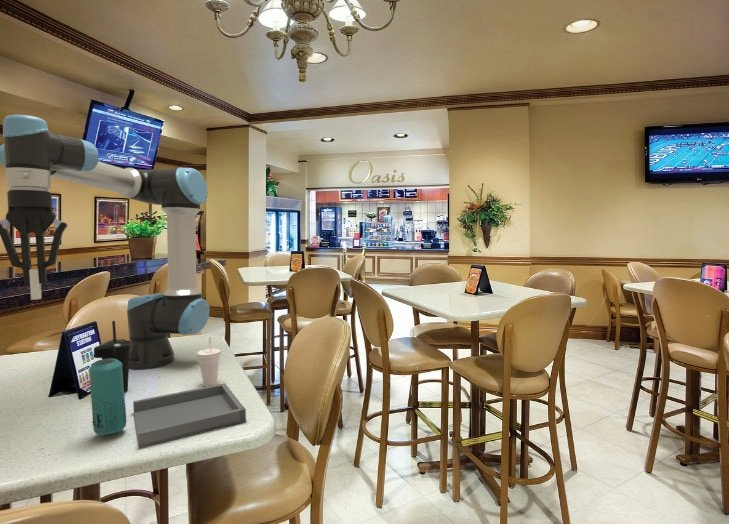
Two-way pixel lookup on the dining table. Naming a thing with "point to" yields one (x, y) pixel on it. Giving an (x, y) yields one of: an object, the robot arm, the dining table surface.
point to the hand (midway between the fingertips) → (36, 298)
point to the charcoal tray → (186, 414)
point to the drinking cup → (120, 355)
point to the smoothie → (209, 365)
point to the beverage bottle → (107, 392)
